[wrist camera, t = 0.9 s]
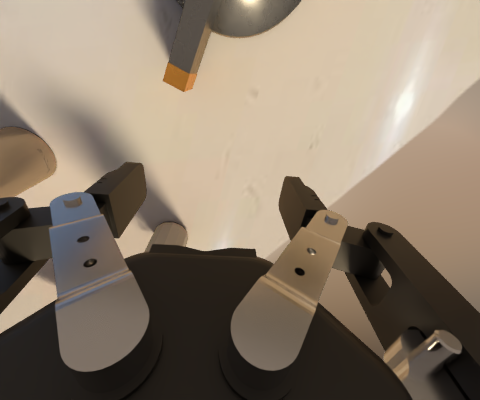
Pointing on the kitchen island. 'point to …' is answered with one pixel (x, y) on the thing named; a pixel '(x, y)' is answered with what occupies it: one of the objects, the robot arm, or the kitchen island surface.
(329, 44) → the kitchen island surface
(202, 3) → the segmented ring on plate
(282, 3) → the housing
